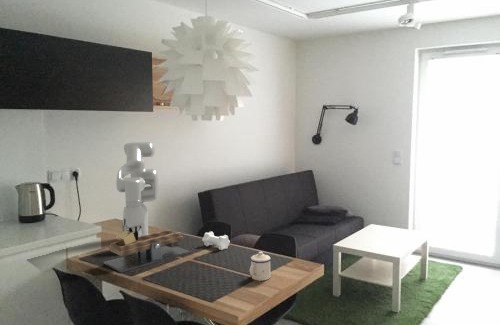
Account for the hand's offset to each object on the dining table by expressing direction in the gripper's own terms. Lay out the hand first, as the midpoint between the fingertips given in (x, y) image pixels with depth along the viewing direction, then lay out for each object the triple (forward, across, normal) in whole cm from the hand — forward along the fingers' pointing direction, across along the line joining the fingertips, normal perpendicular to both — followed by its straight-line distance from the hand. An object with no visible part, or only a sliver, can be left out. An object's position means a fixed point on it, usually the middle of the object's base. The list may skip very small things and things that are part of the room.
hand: (135, 239), depth 205 cm
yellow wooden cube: (+2, +4, 0) cm, 4 cm away
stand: (+11, -7, 0) cm, 14 cm away
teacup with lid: (+12, -27, +61) cm, 68 cm away
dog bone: (+12, -44, +11) cm, 46 cm away
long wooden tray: (+7, -7, 0) cm, 11 cm away
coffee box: (+12, -10, -20) cm, 25 cm away
